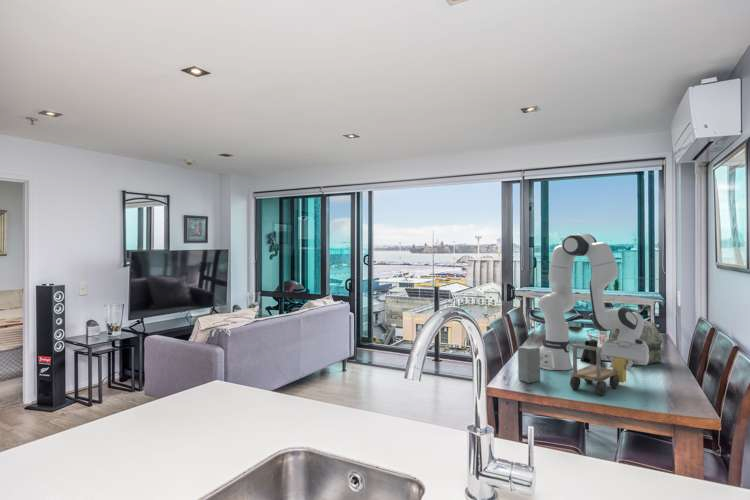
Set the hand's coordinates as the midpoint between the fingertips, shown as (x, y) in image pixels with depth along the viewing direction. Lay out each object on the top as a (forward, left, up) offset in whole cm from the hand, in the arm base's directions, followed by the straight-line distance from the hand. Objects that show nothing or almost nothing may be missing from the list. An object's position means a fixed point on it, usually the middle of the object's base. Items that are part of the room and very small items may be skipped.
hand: (619, 368), depth 202 cm
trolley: (-6, -12, -8) cm, 16 cm away
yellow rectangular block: (0, +1, -6) cm, 6 cm away
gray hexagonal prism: (-32, -22, -8) cm, 40 cm away
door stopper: (-26, +32, -8) cm, 41 cm away
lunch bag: (-11, +51, -8) cm, 52 cm away
